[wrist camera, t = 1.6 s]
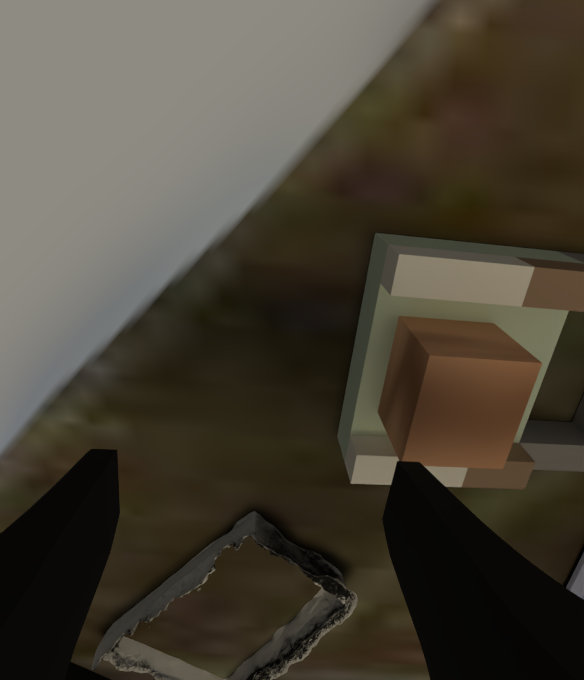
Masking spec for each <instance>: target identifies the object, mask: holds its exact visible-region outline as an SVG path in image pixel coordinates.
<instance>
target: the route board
mask: <svg viewBox="0 0 584 680" xmlns="http://www.w3.org/2000/svg"><path fill="white" fill-rule="evenodd" d="M569 311H579V312H584V254H580V253H570V252H560V251H550V250H540V249H530V248H521V247H511V246H501V245H491V244H481V243H471V242H461V241H451V240H442V239H432V238H422V237H412V236H402V235H392V234H382V233H375V236H374V241H373V247H372V252H371V257H370V263H369V268H368V273H367V279H366V284H365V289H364V295H363V300H362V305H361V311H360V316H359V322H358V327H357V332H356V338H355V343H354V348H353V354H352V359H351V364H350V370H349V375H348V380H347V386H346V391H345V397H344V402H343V407H342V413H341V418H340V423H339V429H338V434H337V437H338V441H339V444H340V448H341V451H342V455H343V458H344V462H345V465H346V469H347V472H348V476H349V479H350V483H351V484H379V485H391V483H392V479H393V475H394V472H395V468H396V464H397V461H399V459H398V457H397V455H396V453H395V450H394V448H393V446H392V444H391V441H390V439H389V437H388V435H387V432H386V430H385V428H384V426H383V423H382V421H381V419H380V417H379V415H378V407H379V403H380V398H381V394H382V389H383V385H384V381H385V376H386V372H387V367H388V363H389V358H390V354H391V349H392V345H393V340H394V336H395V331H396V327H397V322H398V318H399V316H409V317H421V318H434V319H447V320H459V321H472V322H484V323H494V324H496V325H497V326H498V327H499V328H500V329H502V330H503V331H504V332H505V333H506V334H508V335H509V336H510V337H511V338H513V339H514V340H515V341H516V342H517V343H519V344H520V345H521V346H522V347H523V348H525V349H526V350H527V351H528V352H530V353H531V354H532V355H533V356H534V357H536V358H537V359H538V360H539V361H540V362H542V366H541V368H540V371H539V374H538V376H537V379H536V382H535V385H534V387H533V390H532V393H531V395H530V398H529V401H528V403H527V406H526V409H525V411H524V414H523V417H522V420H521V422H520V425H519V428H518V430H517V433H516V436H515V438H514V441H513V444H512V446H511V449H510V452H509V455H508V457H507V460H506V463H505V465H504V468H503V469H489V468H463V467H437V466H424V467H425V468H426V469H428V470H429V471H430V472H431V473H432V474H433V475H434V476H435V477H436V478H437V479H438V480H439V481H440V482H441V483H442V484H443V485H444V486H445V487H470V488H500V489H525V488H526V485H527V483H528V480H529V478H530V475H531V473H532V470H557V471H583V472H584V394H583V397H582V399H581V402H580V404H579V406H578V409H577V411H576V413H575V416H574V418H573V420H572V422H560V421H541V420H528V418H529V415H530V412H531V410H532V407H533V405H534V402H535V399H536V397H537V394H538V391H539V389H540V386H541V383H542V381H543V378H544V375H545V373H546V370H547V367H548V365H549V362H550V359H551V357H552V354H553V352H554V349H555V346H556V344H557V341H558V338H559V336H560V333H561V330H562V328H563V325H564V322H565V320H566V317H567V314H568V312H569Z"/></svg>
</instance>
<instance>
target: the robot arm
mask: <svg viewBox="0 0 584 680" xmlns="http://www.w3.org/2000/svg"><path fill="white" fill-rule="evenodd" d="M119 514H120V506H119V482H118V458H117V450H108V449H91V450H90V451H88V452H87V453H86V454H85V455H84V456H83V457H82V458H81V459H80V460H79V461H78V462H77V463H76V464H75V465H74V466H73V467H72V468H71V469H70V470H69V471H68V472H67V473H66V474H65V475H64V476H63V477H62V478H61V479H60V480H59V481H58V482H57V483H56V484H55V485H54V486H53V487H52V488H51V489H50V490H49V491H48V492H47V493H46V494H45V495H43V496H42V497H41V498H40V499H39V500H38V501H37V502H36V503H35V504H34V505H33V506H32V507H31V508H30V509H28V510H27V511H26V512H25V513H24V514H23V515H22V516H20V517H19V518H18V519H17V520H16V521H15V522H13V523H12V524H11V525H10V526H9V527H8V528H6V529H5V530H4V531H3V532H2V533H0V680H65V677H66V674H67V670H68V667H69V664H70V661H71V658H72V655H73V652H74V649H75V645H76V643H77V640H78V637H79V635H80V632H81V629H82V627H83V624H84V621H85V619H86V616H87V613H88V611H89V608H90V605H91V603H92V600H93V597H94V595H95V592H96V589H97V587H98V584H99V581H100V579H101V576H102V573H103V571H104V568H105V565H106V562H107V560H108V557H109V554H110V551H111V547H112V543H113V539H114V535H115V531H116V527H117V523H118V518H119ZM382 520H383V525H384V530H385V535H386V540H387V544H388V549H389V553H390V557H391V560H392V563H393V566H394V569H395V572H396V575H397V578H398V581H399V584H400V587H401V589H402V592H403V595H404V598H405V601H406V604H407V606H408V609H409V612H410V615H411V618H412V621H413V624H414V626H415V629H416V632H417V635H418V638H419V641H420V644H421V647H422V650H423V653H424V657H425V660H426V663H427V667H428V671H429V675H430V679H431V680H584V553H583V555H582V557H581V559H580V561H579V563H578V565H577V567H576V569H575V571H574V572H573V574H572V576H571V578H570V580H569V582H568V584H567V586H566V588H565V587H564V586H562V585H561V584H560V583H558V582H557V581H555V580H554V579H552V578H551V577H550V576H548V575H547V574H546V573H544V572H543V571H542V570H540V569H539V568H538V567H536V566H535V565H534V564H532V563H531V562H530V561H528V560H527V559H526V558H524V557H523V556H522V555H521V554H519V553H518V552H517V551H516V550H514V549H513V548H512V547H511V546H510V545H508V544H507V543H506V542H505V541H504V540H502V539H501V538H500V537H499V536H498V535H497V534H495V533H494V532H493V531H492V530H491V529H490V528H489V527H487V526H486V525H485V524H484V523H483V522H482V521H481V520H480V519H479V518H477V517H476V516H475V515H474V514H473V513H472V512H471V511H470V510H469V509H468V508H467V507H466V506H465V505H464V504H463V503H461V502H460V501H459V500H458V499H457V498H456V497H455V496H454V495H453V494H452V493H451V492H450V491H449V490H448V489H447V488H446V487H445V486H444V485H443V484H442V483H441V482H440V481H439V480H438V479H437V478H436V477H435V476H434V475H433V474H432V473H431V472H430V471H429V470H428V469H426V468H425V467H424V466H423V465H422V464H421V463H420V462H411V461H397V464H396V468H395V472H394V475H393V479H392V483H391V487H390V491H389V495H388V499H387V503H386V507H385V511H384V515H383V518H382Z"/></svg>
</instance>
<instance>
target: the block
mask: <svg viewBox="0 0 584 680" xmlns="http://www.w3.org/2000/svg"><path fill="white" fill-rule="evenodd" d="M541 366H542V362H540V361H539V360H538V359H537V358H536V357H534V356H533V355H532V354H531V353H530V352H528V351H527V350H526V349H525V348H523V347H522V346H521V345H520V344H519V343H517V342H516V341H515V340H514V339H513V338H511V337H510V336H509V335H508V334H506V333H505V332H504V331H503V330H502V329H500V328H499V327H498V326H497V325H496V324H494V323H484V322H472V321H459V320H447V319H434V318H421V317H409V316H399V318H398V322H397V327H396V331H395V336H394V340H393V345H392V349H391V354H390V358H389V363H388V367H387V372H386V376H385V381H384V385H383V389H382V394H381V398H380V403H379V407H378V415H379V417H380V419H381V421H382V423H383V426H384V428H385V430H386V432H387V435H388V437H389V439H390V441H391V444H392V446H393V448H394V450H395V453H396V455H397V457H398V459H399V461H411V462H420V463H421V464H422V465H423V466H437V467H463V468H489V469H503V468H504V465H505V463H506V460H507V457H508V455H509V452H510V449H511V446H512V444H513V441H514V438H515V436H516V433H517V430H518V428H519V425H520V422H521V420H522V417H523V414H524V411H525V409H526V406H527V403H528V401H529V398H530V395H531V393H532V390H533V387H534V385H535V382H536V379H537V376H538V374H539V371H540V368H541Z"/></svg>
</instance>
